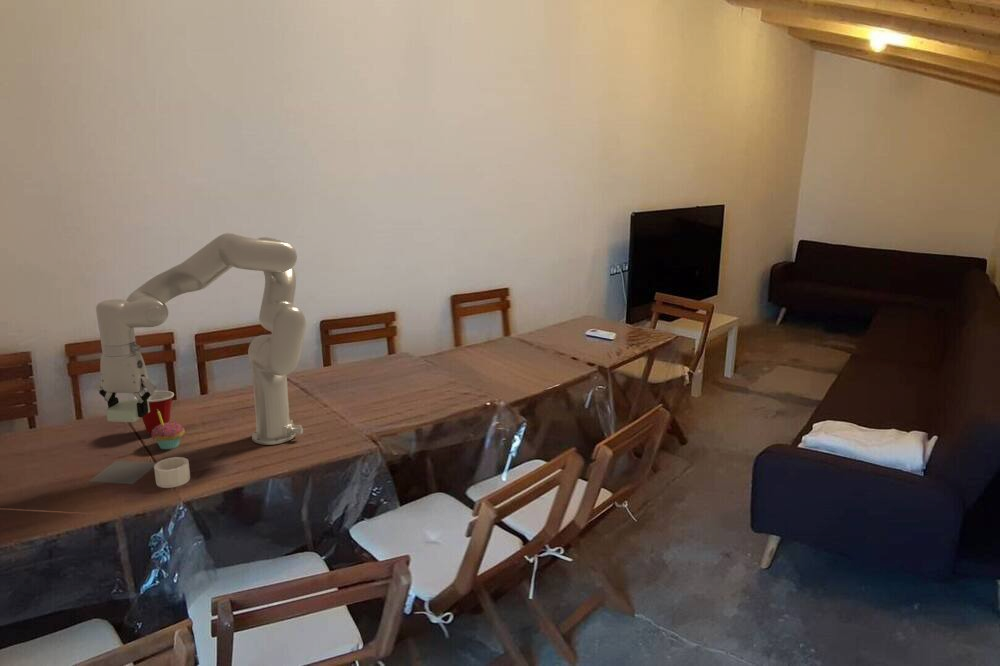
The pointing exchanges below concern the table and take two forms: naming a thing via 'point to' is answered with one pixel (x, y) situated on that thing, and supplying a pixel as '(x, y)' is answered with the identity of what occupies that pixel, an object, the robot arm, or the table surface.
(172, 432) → the cupcake
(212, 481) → the table surface
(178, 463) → the bowl
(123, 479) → the mat
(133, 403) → the block
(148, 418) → the plastic cup
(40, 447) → the table surface
